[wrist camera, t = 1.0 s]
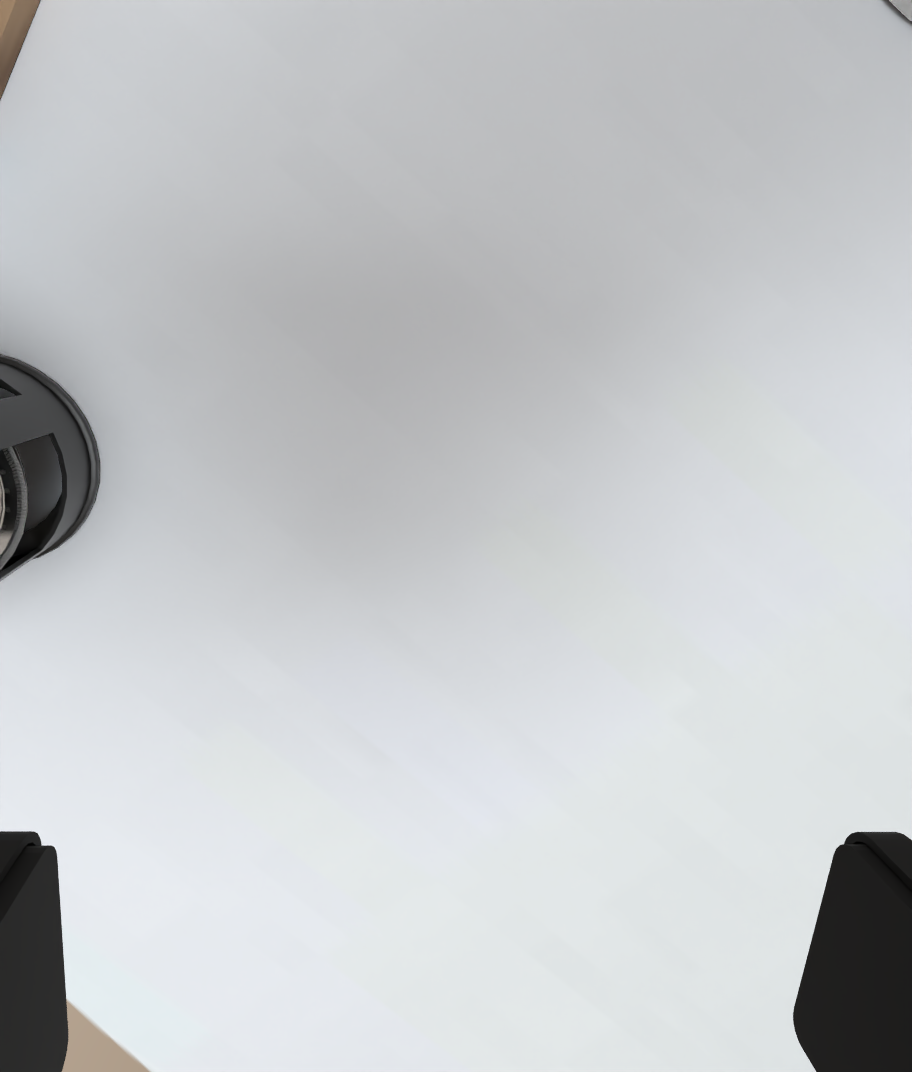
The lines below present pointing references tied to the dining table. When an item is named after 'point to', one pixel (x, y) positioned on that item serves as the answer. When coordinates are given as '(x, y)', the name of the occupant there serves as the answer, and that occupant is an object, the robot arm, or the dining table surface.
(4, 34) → the guide
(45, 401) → the french press
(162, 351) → the dining table surface
